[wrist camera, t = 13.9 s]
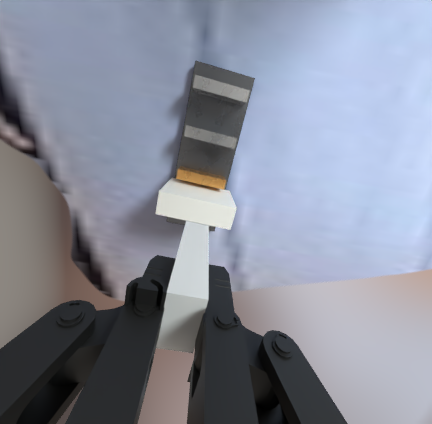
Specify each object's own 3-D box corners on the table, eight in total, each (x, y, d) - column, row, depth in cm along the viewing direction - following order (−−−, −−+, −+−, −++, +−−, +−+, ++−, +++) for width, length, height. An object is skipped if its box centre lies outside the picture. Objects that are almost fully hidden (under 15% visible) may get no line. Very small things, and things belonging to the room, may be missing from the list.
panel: (171, 177, 28) (159, 191, 21) (229, 191, 29) (236, 208, 21) (168, 195, 28) (155, 214, 21) (225, 207, 29) (230, 229, 22)
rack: (196, 63, 24) (194, 51, 21) (253, 80, 25) (259, 71, 22) (167, 218, 31) (163, 228, 27) (214, 228, 31) (214, 239, 28)
